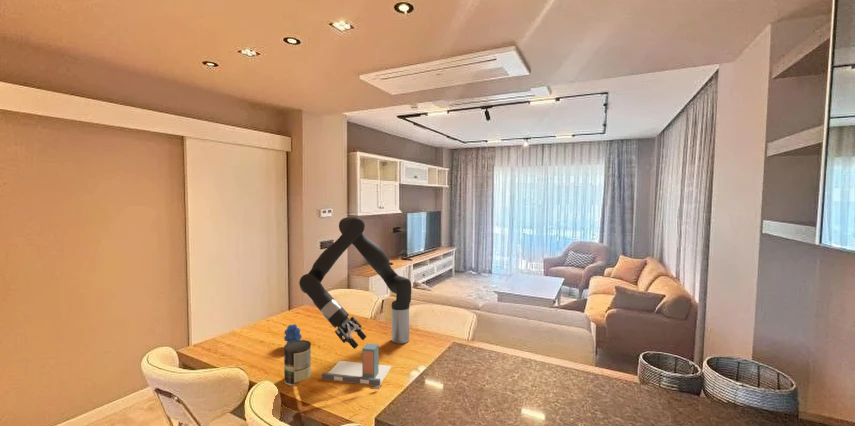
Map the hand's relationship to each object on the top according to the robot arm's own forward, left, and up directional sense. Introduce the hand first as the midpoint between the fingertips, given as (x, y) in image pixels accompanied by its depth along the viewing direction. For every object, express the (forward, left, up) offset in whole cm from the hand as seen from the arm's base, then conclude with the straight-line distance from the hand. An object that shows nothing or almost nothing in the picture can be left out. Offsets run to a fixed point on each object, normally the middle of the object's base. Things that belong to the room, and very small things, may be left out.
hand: (360, 342), depth 139 cm
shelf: (-2, -2, -15) cm, 15 cm away
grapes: (-21, -44, -15) cm, 51 cm away
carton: (0, +4, -13) cm, 14 cm away
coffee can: (+6, -25, -15) cm, 30 cm away
